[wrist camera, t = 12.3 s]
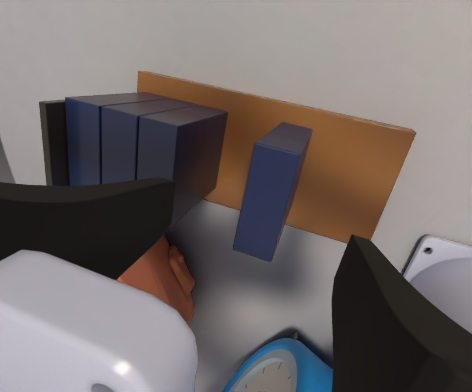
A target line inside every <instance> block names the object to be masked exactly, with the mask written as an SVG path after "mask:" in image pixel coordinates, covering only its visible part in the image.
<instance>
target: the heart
mask: <svg viewBox="0 0 472 392" xmlns="http://www.w3.org/2000/svg"><path fill="white" fill-rule="evenodd" d="M116 281H118V282H121V283H124V284H126V285H129V286H131V287H134V288H136V289H139V290H141V291H144V292H146V293H149V294H151V295H154V296H155V297H157V298H159V299H160V300H162V301H163V302H165V303H166V304H168V305H169V306H171V307H173V308H174V309H176V310H177V311H178V312H179V314H180V315H181V317H182V318H183V319H184V321H185V322H186V323H187V325H188V324H189V322H190V320H191V318H192V317H193V314H194V304H193V301H192V296H191V293H190V292H191V290H192V289H193V286H194V285H195V280H194V279H193V278H192V277H191V275H190V273H189V271H188V269H187V267H186V264H185V262H184V257H183V255H182V254H180V252H179V250H178V249H177V247H175V246H169V245H168V241H167V239H166V238H165V236H164V235H163V236H162V237H161V238H160V239H159V240H158V241H157V242H156V243H155V244H154V245H153V246H152V247H151V248H150V249H149V250H148V251H147V252H146V253H145V254H144V255H143V256H141V257H140V258H139V259H138V260H137V261H136V262H135V263H134V264H133V265H132V266H131V267H130V268H128V269H127V270H126V271H125V272H124V273H123V274H122V275H121V276H120V277H119V278H118V279H117V280H116Z"/></svg>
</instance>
